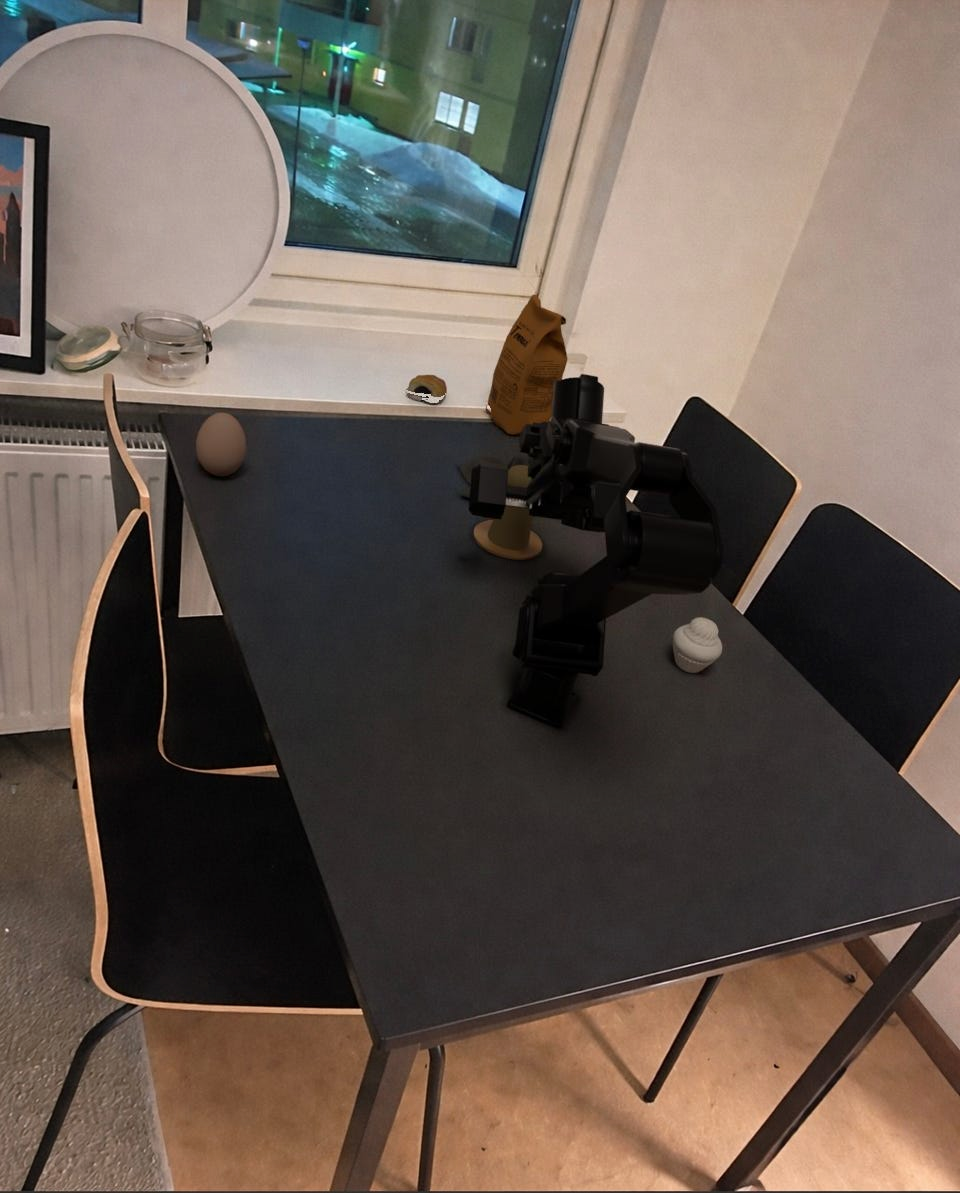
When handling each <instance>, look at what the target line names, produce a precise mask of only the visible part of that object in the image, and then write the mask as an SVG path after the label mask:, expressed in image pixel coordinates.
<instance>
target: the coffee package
mask: <svg viewBox="0 0 960 1193" xmlns="http://www.w3.org/2000/svg"><path fill="white" fill-rule="evenodd" d="M566 324H567V318H566V317H565V316H564V315H562V314H559V313H558V312H555V311H552V310H550V309H548V308H545V307H542V302H541V299H540V298H539V296H538V294H532V295H531V296H530V297H529V300H528V301H527V303H526V304H525V305H524V307H523V309H522V310H521V312H520V314H519V315H518V317H517V319H516V320H515V321H514V323H513V325H512V326H511V328H510V330H509V332H508V334H507V335H506V337H505V341H504V343H503V344H502V345H503V346H502V349H501V351H500V354H499V357H498V360H497V363H496V365H495V368H494V370H493V373H492V374H493V375H492V381H491V387H490V391H489V395H488V400H487V403H488V405H489V406H490V408H491V412H490V411H489V410H488V409H487V406H486V407H485V412H486V413H488V415H490V416H491V417H492V419H493V423H494V425H496V426H497V427H498V428H500V429H501V430H502V431H504V432H505V433H506V434H508V435H513V436H515V435H520V433H521V431H522V428H523V427H524V426H525V425H526V424H530V425H532V424H533V422H534V423H542V422H551V415H552V402H553V390H554V383H555V382H556V381H558V380H559V381H560V380H562V379H563V376H564V373H565V370H566V367H567V363H568V354H567V347H566V344H565V340H564V337H563V333H562V332H563V331H562V326H563V325H566Z"/></svg>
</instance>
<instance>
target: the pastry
mask: <svg viewBox="0 0 960 1193" xmlns="http://www.w3.org/2000/svg"><path fill="white" fill-rule="evenodd" d="M447 387H448V386H447V384H446V382H445V380H444V379H442V378H440V377H438V376H437V375H434V374H418V375H416V376H415V377H413V378H412V379H411V380H410V381H409V383H408V387H407V388H406V389H405V393H406V394H407V397H408V398H409V399H410V400H414V401H419V402H422V401H421V400H422V398H429V397H428V396H426V397H422V396H418V395H414V394H410V393H407V392H406V390H408V391H411V392H415V393H424V394H431V396H433V397H441V396H443V395H445V393H446V394H447V393H448V388H447ZM445 396H446V395H445ZM426 400H428V399H426ZM424 401H425V400H424ZM424 401H423V402H424ZM443 401H444V399H442V400H439V403H438V404H441V403H442V402H443ZM431 404H434V403H431Z"/></svg>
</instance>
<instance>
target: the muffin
mask: <svg viewBox="0 0 960 1193" xmlns="http://www.w3.org/2000/svg"><path fill="white" fill-rule="evenodd" d="M672 650H673V655H674V662H675V664H676V666H677V667H678V668H679V669H680V670H682V671H684V672H687V673H690V674H696V673H700V672H701V671H703V670H704V669H705V668H706V669H707V667H709V666H710V665H712V664H713V663H715V661H716V660H717V659H719V658H720V656H721V655H722V652H723V643H722V641H721V638H720V637H719V628H718V625H717V624H716V623H715V622H714V621H713V620H710V619H709V618H706V617H702V616H699V617H694V618H693V619H692V620H690V623H687V624H684V625H681V626H679V627H678V628H677V629H676V630H675V631H674V633H673V636H672Z"/></svg>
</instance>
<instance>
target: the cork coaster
mask: <svg viewBox="0 0 960 1193" xmlns="http://www.w3.org/2000/svg"><path fill="white" fill-rule="evenodd" d="M492 522H493V519H487V520H484V521H481V522H479V523H477V524H476V525H475V527H474V529H473V533H472V534H473V538H474V540H475V542H476V543H477V544H478V546H480V548H482V549H483V550H485V551H486V552H488V553H490V554H492V555H494V556H497V557H500V558H503V559H508V560H516V561H524V560H525V561H526V560H530V559H533V558H536V557H537V556H539V555H540V554H541V552H542V550H543V542H542V539H541V538H540V537H539V536H538V535H537V533H536V532H534V531H533V530H531V531H530V539H529V545H528V546H527V548H525V549H523V550H508V549H504V548H501V547H499V546H497V545H495V544H493V543H492V542H491V541H490V540H489V538H488V531H489V529H490V526H491V524H492Z"/></svg>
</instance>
